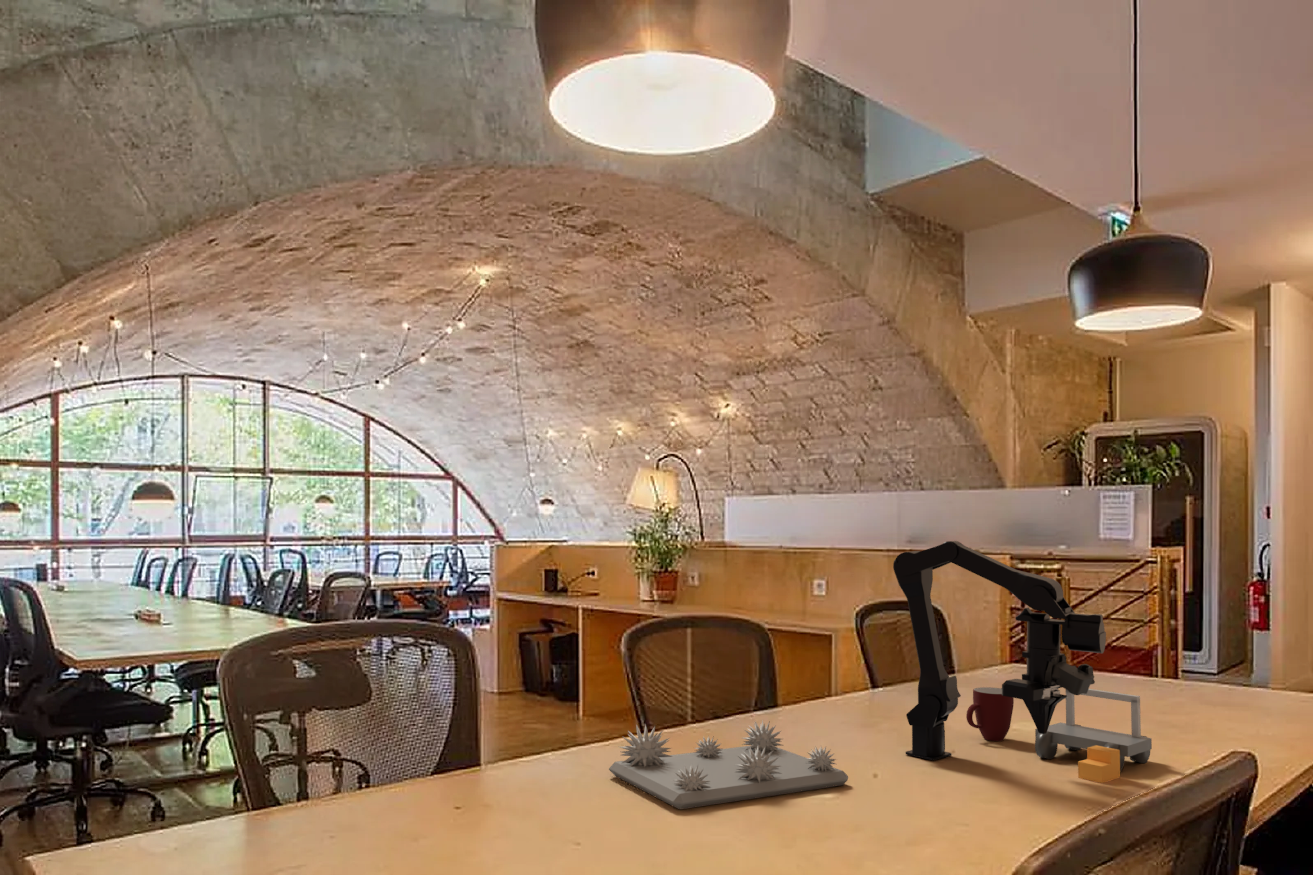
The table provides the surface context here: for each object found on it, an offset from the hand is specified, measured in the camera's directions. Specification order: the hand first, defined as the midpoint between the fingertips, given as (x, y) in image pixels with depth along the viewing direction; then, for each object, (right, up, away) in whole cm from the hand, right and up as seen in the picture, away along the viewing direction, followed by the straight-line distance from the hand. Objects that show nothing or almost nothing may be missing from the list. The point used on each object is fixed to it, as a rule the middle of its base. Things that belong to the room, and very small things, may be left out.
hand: (1042, 733), depth 187 cm
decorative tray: (-58, -7, -8) cm, 59 cm away
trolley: (+13, -8, +9) cm, 18 cm away
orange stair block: (+9, -7, -3) cm, 12 cm away
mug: (-1, -9, +26) cm, 27 cm away
